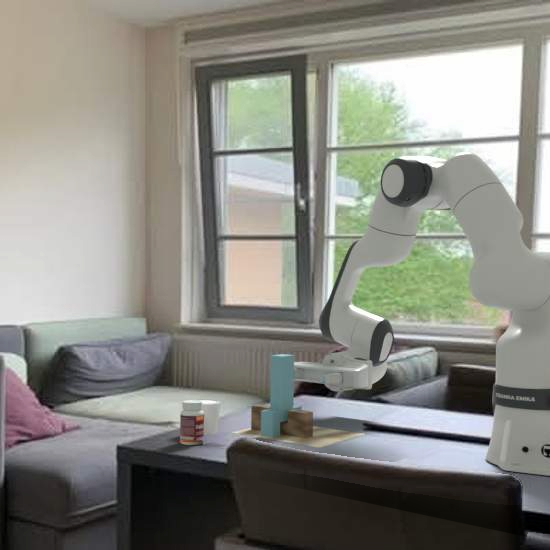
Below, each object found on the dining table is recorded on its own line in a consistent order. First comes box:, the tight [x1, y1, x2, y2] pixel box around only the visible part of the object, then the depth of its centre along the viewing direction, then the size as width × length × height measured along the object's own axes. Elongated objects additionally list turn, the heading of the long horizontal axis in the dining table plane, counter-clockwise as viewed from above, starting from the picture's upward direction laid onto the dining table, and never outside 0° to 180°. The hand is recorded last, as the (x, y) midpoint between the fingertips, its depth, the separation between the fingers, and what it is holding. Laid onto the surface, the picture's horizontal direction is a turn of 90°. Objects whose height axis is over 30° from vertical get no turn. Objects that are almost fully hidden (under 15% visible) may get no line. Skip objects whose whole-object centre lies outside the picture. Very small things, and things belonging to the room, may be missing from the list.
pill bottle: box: [179, 399, 205, 446], centre depth 158 cm, size 5×5×8 cm
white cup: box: [197, 399, 221, 437], centre depth 167 cm, size 7×7×7 cm
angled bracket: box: [261, 353, 303, 438], centre depth 162 cm, size 3×10×16 cm, turn 143°
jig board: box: [231, 403, 367, 449], centre depth 162 cm, size 22×17×6 cm
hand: (305, 377), depth 168 cm, fingers open, 8 cm apart
